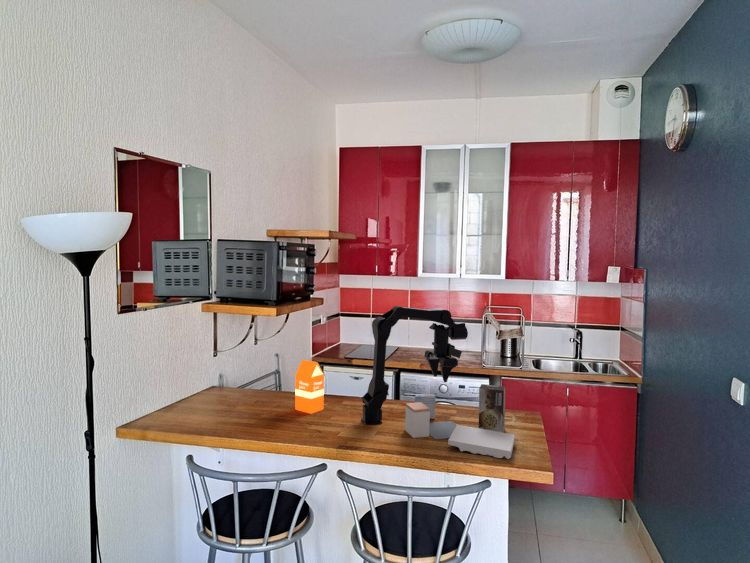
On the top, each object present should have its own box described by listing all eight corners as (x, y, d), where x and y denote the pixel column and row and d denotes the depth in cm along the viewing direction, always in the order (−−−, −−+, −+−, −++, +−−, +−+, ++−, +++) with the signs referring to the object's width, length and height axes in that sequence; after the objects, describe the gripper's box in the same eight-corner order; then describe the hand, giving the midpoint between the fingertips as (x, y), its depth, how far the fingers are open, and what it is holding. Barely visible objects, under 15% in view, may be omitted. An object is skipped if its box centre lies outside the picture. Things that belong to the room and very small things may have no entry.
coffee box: (504, 428, 190) (506, 385, 189) (503, 434, 184) (504, 390, 183) (479, 425, 193) (481, 383, 192) (477, 431, 187) (478, 387, 186)
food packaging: (514, 443, 176) (456, 433, 182) (514, 434, 175) (457, 424, 182) (510, 461, 161) (447, 449, 168) (510, 451, 161) (448, 440, 168)
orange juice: (308, 405, 215) (308, 358, 214) (323, 409, 210) (324, 361, 208) (294, 409, 208) (295, 361, 207) (310, 413, 203) (311, 364, 202)
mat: (435, 440, 177) (435, 439, 177) (417, 424, 193) (417, 424, 193) (471, 436, 182) (471, 435, 182) (450, 421, 197) (450, 421, 197)
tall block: (413, 438, 179) (414, 409, 179) (405, 430, 187) (405, 403, 186) (429, 436, 181) (429, 408, 180) (420, 428, 189) (420, 402, 188)
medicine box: (434, 415, 204) (435, 394, 203) (434, 419, 200) (435, 397, 199) (414, 414, 205) (415, 393, 204) (414, 418, 200) (415, 396, 200)
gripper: (470, 343, 196) (469, 383, 197) (449, 335, 214) (448, 372, 215) (444, 344, 193) (443, 385, 193) (424, 336, 210) (423, 374, 211)
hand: (440, 379), depth 203 cm, fingers open, 9 cm apart
